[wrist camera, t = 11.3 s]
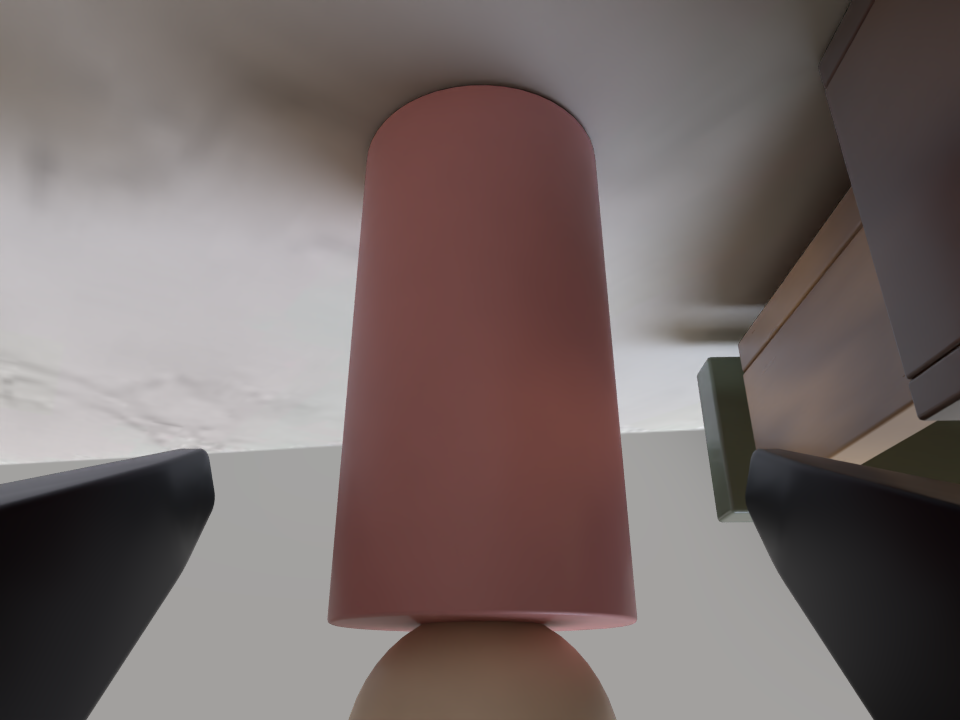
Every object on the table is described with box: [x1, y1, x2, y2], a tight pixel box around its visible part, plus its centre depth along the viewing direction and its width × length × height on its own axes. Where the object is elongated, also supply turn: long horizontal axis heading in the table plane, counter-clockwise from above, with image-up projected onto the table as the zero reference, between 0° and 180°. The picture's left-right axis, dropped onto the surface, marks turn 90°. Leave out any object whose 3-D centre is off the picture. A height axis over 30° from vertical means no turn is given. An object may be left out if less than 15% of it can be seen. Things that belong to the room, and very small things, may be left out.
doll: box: [328, 85, 637, 720], centre depth 10 cm, size 4×4×11 cm
